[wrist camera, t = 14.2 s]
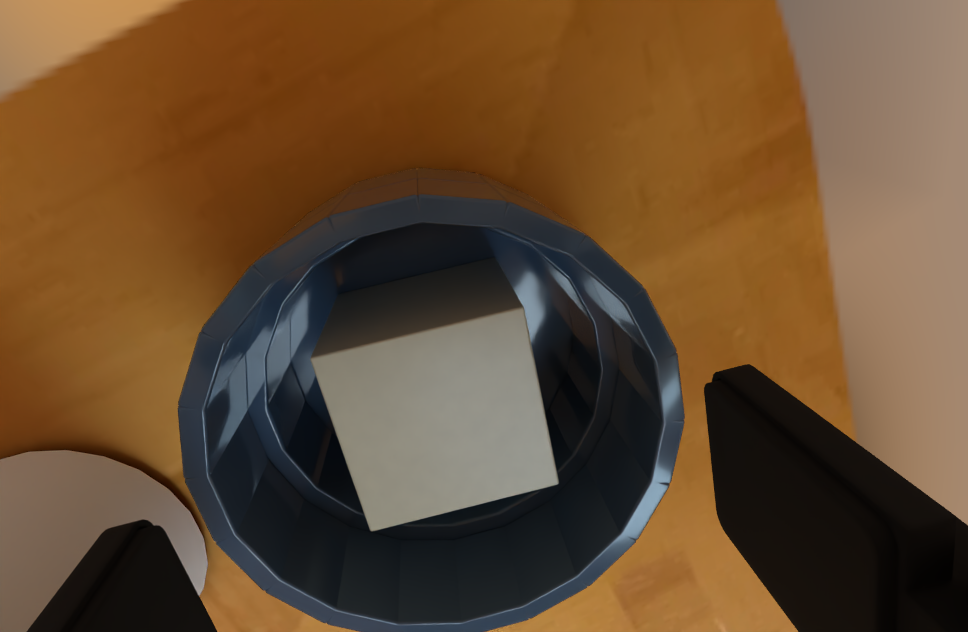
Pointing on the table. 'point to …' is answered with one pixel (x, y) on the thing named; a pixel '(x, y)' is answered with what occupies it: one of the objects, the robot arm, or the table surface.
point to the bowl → (316, 449)
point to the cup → (75, 523)
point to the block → (435, 393)
